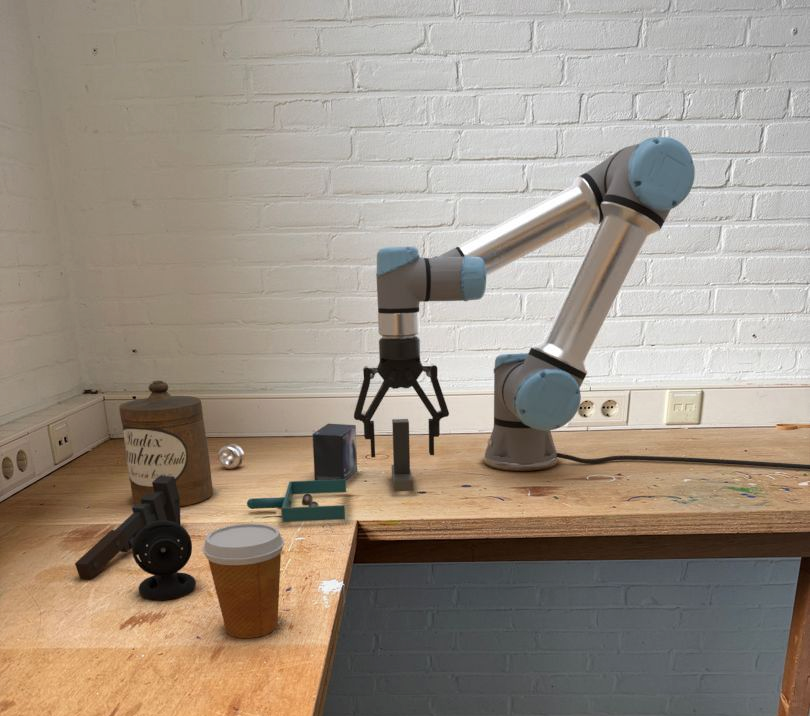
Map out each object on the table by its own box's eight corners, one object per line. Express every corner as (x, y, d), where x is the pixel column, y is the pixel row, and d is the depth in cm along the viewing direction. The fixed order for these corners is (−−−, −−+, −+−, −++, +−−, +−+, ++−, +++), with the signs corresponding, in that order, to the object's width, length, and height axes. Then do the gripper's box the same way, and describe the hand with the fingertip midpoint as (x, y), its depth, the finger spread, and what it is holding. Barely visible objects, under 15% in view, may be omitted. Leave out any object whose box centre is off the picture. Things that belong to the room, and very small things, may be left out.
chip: (301, 496, 146) (306, 503, 147) (299, 503, 142) (305, 510, 143) (308, 490, 146) (314, 498, 146) (307, 497, 142) (313, 505, 142)
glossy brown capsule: (316, 498, 141) (307, 503, 141) (315, 505, 137) (305, 510, 137) (321, 507, 142) (312, 511, 142) (320, 514, 138) (310, 519, 138)
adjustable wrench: (87, 604, 117) (171, 519, 137) (103, 606, 116) (185, 520, 137) (70, 556, 113) (159, 475, 133) (86, 557, 112) (174, 476, 132)
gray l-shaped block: (409, 478, 161) (407, 414, 157) (413, 495, 150) (411, 426, 145) (392, 479, 161) (390, 415, 156) (394, 495, 149) (392, 427, 145)
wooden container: (116, 505, 148) (97, 386, 141) (164, 484, 161) (150, 374, 154) (183, 511, 143) (168, 388, 136) (228, 489, 156) (216, 376, 149)
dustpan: (346, 495, 151) (345, 479, 149) (345, 524, 135) (344, 505, 133) (253, 499, 150) (252, 482, 149) (241, 528, 134) (239, 510, 133)
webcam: (141, 605, 105) (131, 533, 101) (135, 585, 111) (125, 517, 108) (201, 594, 108) (193, 524, 104) (192, 575, 114) (184, 509, 111)
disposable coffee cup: (217, 613, 102) (207, 524, 98) (292, 608, 103) (285, 520, 99) (206, 647, 93) (195, 551, 89) (288, 642, 94) (280, 546, 90)
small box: (345, 487, 156) (342, 434, 152) (313, 486, 157) (310, 433, 153) (359, 473, 165) (357, 423, 162) (329, 472, 167) (326, 422, 163)
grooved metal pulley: (245, 467, 173) (243, 444, 171) (238, 470, 170) (236, 447, 169) (225, 465, 174) (223, 443, 173) (218, 469, 172) (215, 446, 170)
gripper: (459, 332, 150) (459, 447, 157) (336, 336, 149) (342, 452, 156) (464, 336, 143) (464, 457, 150) (335, 340, 142) (342, 461, 149)
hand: (402, 454), depth 153 cm, fingers open, 10 cm apart
